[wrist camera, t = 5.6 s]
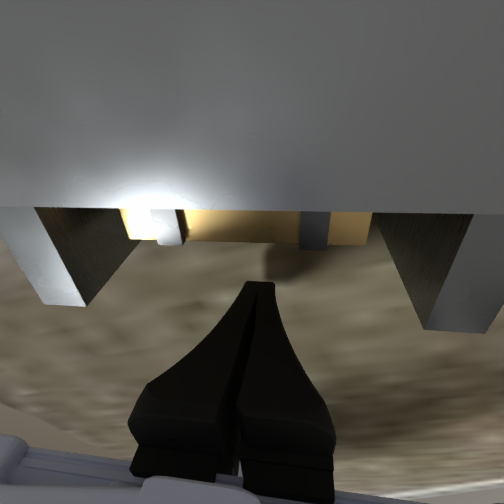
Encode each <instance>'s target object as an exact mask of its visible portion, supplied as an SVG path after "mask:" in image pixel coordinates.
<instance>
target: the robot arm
mask: <svg viewBox="0 0 504 504" xmlns="http://www.w3.org/2000/svg"><path fill="white" fill-rule="evenodd" d="M128 427H129V429H130V431H131V433H132V435H133V436H134V438H135V440H136V441H137V443H138V444H139V446H138V448H137V451H136V453H135V456H134V458H133V461H127V460H120V459H113V458H106V457H99V456H92V455H85V454H78V453H71V452H64V451H57V450H50V449H43V448H36V447H29V446H28V444H27V443H26V442H25V441H24V440H23V439H21V438H19V437H17V436H13V435H6V434H0V504H426V503H420V502H413V501H406V500H399V499H392V498H385V497H378V496H371V495H364V494H357V493H350V492H343V491H336V490H334V480H333V471H334V465H333V453H334V449H335V445H336V435H335V430H334V426H333V423H332V420H331V417H330V414H329V411H328V409H327V406H326V404H325V401H324V400H323V398H322V397H321V396H320V394H319V393H318V391H317V390H316V388H315V387H314V385H313V384H312V382H311V381H310V379H309V378H308V376H307V374H306V373H305V371H304V369H303V367H302V365H301V364H300V362H299V360H298V358H297V356H296V354H295V352H294V350H293V348H292V346H291V344H290V342H289V339H288V337H287V335H286V332H285V329H284V327H283V324H282V321H281V318H280V314H279V311H278V307H277V303H276V297H275V284H274V283H273V282H259V281H247V282H245V284H244V286H243V288H242V290H241V291H240V293H239V295H238V296H237V298H236V299H235V301H234V302H233V304H232V305H231V307H230V308H229V310H228V311H227V312H226V314H225V315H224V316H223V317H222V319H221V320H220V321H219V322H218V324H217V325H216V326H215V327H214V328H213V330H212V331H211V332H210V333H209V334H208V335H207V336H206V337H205V338H204V339H203V340H202V341H201V342H200V343H199V344H198V345H197V346H196V347H195V348H194V349H193V350H192V351H191V352H189V353H188V354H187V355H186V356H185V357H183V358H182V359H181V360H180V361H179V362H177V363H176V364H175V365H174V366H172V367H171V368H170V369H168V370H167V371H166V372H164V373H163V374H161V375H160V376H158V377H157V378H155V379H154V380H153V381H151V382H150V383H148V384H147V385H146V386H145V388H144V390H143V391H142V393H141V395H140V396H139V398H138V400H137V402H136V404H135V406H134V409H133V411H132V413H131V415H130V417H129V419H128ZM495 504H504V503H495Z"/></svg>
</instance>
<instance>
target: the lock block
mask: <svg viewBox="0 0 504 504" xmlns="http://www.w3.org/2000/svg"><path fill="white" fill-rule="evenodd" d="M119 210H120V213H121V216H122V219H123V222H124V225H125V228H126V230H127V233H128V236H129V239H153V240H157V241H158V244H159V245H179V246H183V244H184V243H185V241H218V242H251V243H283V244H299V250H327V245H348V246H366V241H367V236H368V232H369V227H370V222H371V217H372V212H319V211H257V210H195V209H132V208H119Z"/></svg>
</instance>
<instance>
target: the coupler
mask: <svg viewBox="0 0 504 504" xmlns="http://www.w3.org/2000/svg"><path fill="white" fill-rule="evenodd" d="M119 208H132V209H195V210H257V211H319V212H381V213H382V214H381V219H380V223H379V229H380V232H381V234H382V236H383V238H384V241H385V243H386V245H387V248H388V250H389V252H390V254H391V257H392V259H393V261H394V263H395V266H396V268H397V270H398V272H399V275H400V277H401V279H402V281H403V284H404V286H405V288H406V290H407V293H408V295H409V297H410V299H411V302H412V304H413V306H414V309H415V311H416V313H417V315H418V318H419V320H420V322H421V324H422V327H423V329H424V330H437V331H451V332H466V333H481V334H485V333H486V331H487V330H488V328H489V326H490V325H491V323H492V322H493V320H494V318H495V317H496V315H497V314H498V312H499V310H500V309H501V307H502V306H503V304H504V0H0V236H1V237H2V239H3V240H4V242H5V244H6V245H7V247H8V248H9V250H10V251H11V253H12V254H13V256H14V258H15V259H16V261H17V262H18V264H19V265H20V267H21V268H22V270H23V272H24V273H25V275H26V276H27V278H28V279H29V281H30V282H31V284H32V286H33V287H34V289H35V290H36V292H37V293H38V295H39V296H40V298H41V300H42V301H43V303H44V304H52V305H67V306H81V307H87V306H88V304H89V303H90V302H91V301H92V299H93V298H94V297H95V296H96V295H97V293H98V292H99V291H100V290H101V289H102V287H103V286H104V285H105V284H106V282H107V281H108V280H109V279H110V278H111V276H112V275H113V274H114V273H115V271H116V270H117V269H118V268H119V267H120V265H121V264H122V263H123V262H124V261H125V259H126V258H127V257H128V256H129V254H130V253H131V252H132V251H133V250H134V248H135V247H136V246H137V245H138V244H139V242H140V241H141V240H142V239H129V236H128V233H127V230H126V228H125V225H124V222H123V219H122V216H121V213H120V210H119Z"/></svg>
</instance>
